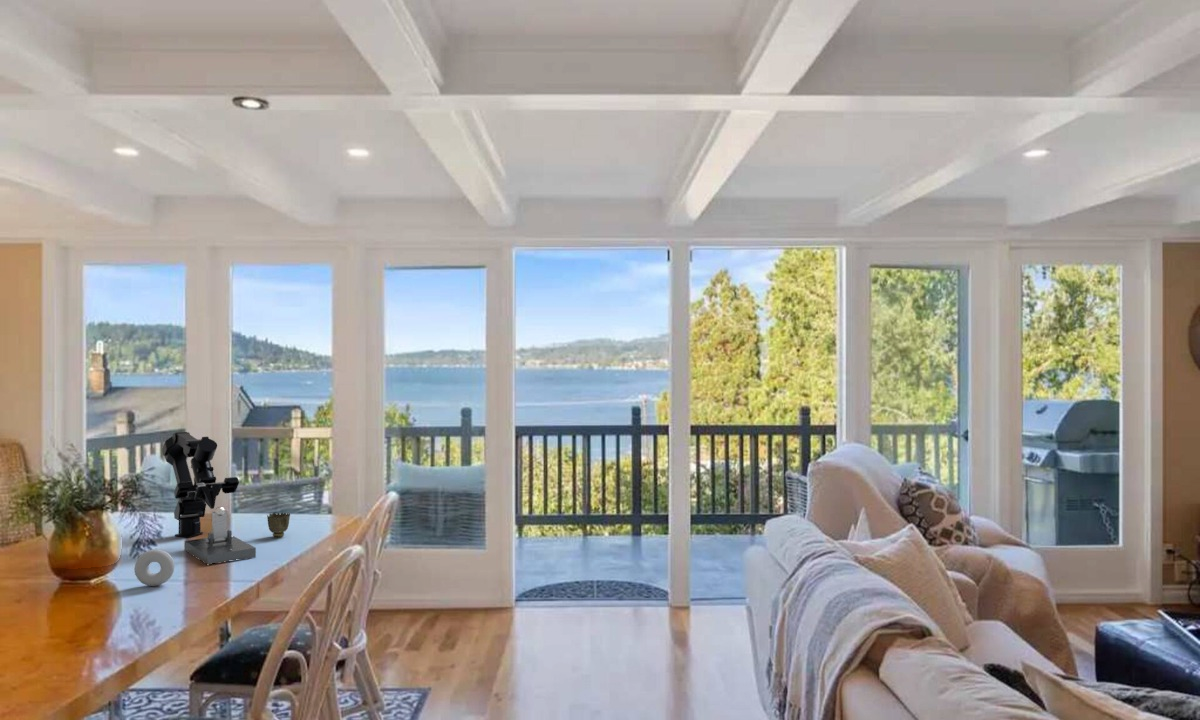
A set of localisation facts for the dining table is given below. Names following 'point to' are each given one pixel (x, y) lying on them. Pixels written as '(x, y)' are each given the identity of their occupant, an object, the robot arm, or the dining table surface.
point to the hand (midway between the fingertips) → (212, 508)
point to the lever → (219, 525)
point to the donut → (151, 578)
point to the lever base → (219, 549)
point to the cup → (278, 523)
